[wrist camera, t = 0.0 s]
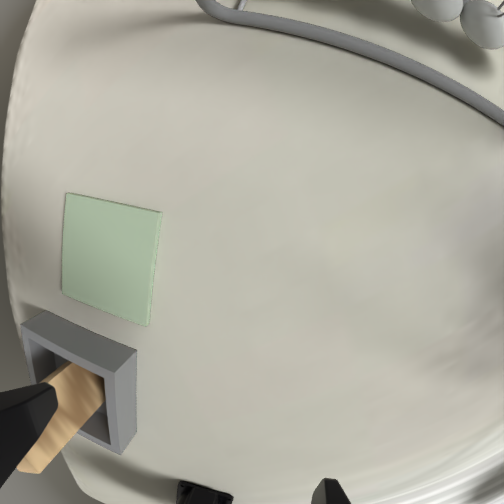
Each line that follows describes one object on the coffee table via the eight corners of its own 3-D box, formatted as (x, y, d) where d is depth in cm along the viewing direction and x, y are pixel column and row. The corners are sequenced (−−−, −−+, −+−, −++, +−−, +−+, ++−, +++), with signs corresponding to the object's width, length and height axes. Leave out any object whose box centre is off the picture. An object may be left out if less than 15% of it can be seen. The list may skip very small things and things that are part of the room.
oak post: (114, 390, 26) (39, 473, 14) (88, 399, 27) (19, 471, 15) (86, 351, 25) (-2, 424, 13) (63, 363, 26) (-16, 428, 14)
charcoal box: (136, 431, 27) (120, 455, 23) (56, 391, 28) (37, 408, 25) (136, 350, 25) (114, 372, 21) (46, 310, 26) (20, 324, 22)
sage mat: (149, 323, 24) (146, 326, 23) (65, 291, 25) (62, 293, 24) (162, 212, 22) (158, 213, 21) (71, 192, 23) (66, 193, 22)
